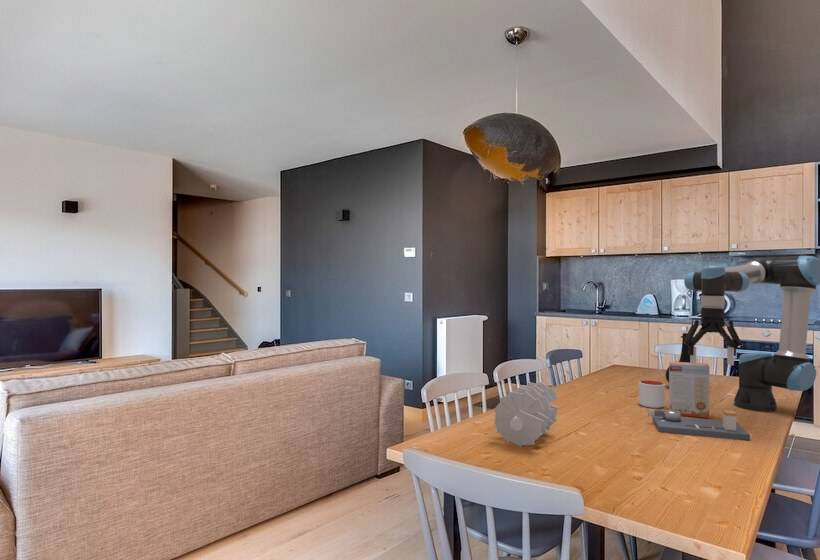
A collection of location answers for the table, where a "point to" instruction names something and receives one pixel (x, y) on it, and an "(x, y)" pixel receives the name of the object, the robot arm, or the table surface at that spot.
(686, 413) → the cracker box
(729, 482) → the table surface
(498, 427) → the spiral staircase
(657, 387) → the cup
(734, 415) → the block
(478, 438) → the table surface
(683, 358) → the glass bottle
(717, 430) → the console
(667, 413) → the dial
